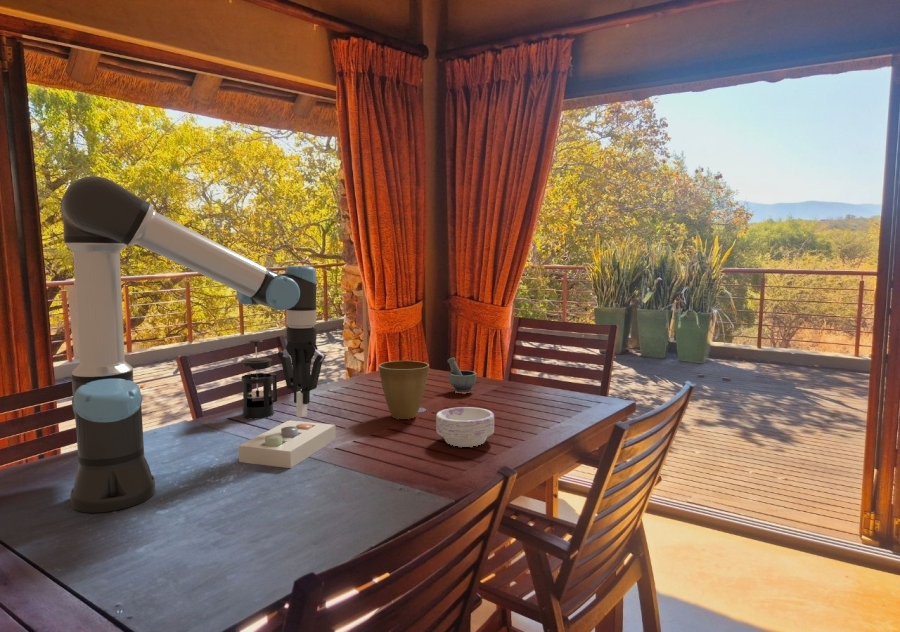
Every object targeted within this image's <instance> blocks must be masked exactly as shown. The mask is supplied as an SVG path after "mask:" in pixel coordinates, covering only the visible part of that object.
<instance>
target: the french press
mask: <svg viewBox="0 0 900 632" xmlns="http://www.w3.org/2000/svg"><path fill="white" fill-rule="evenodd" d="M263 342H264V340H262V339H252V340H251V339H250V340H249V341H248V343H251V344H253V345H254V346H253V347H255V357H251V358H245V359H241V360H240V363H241V365H242V367H243V368H245V367H250V368H251V369H253V370H255V372H254V373H248V374H247V373H246V374H244V375H242V376H241V378H240V379H241V383H242V396H243V397H242V402H243V404H242V413H241V416H242V418H244V419H248V418H252V419H251V420H255V419H254V418H260V419H265V418H264V417H266V418H269V417H268V416H270V417H272V416H273V414H274V415H275V411H274V403H276V402H278V387H277V386H278V385H277V384H278V383H277V382H278V381H277V379H278V378H277V374H276V373H272V372H271V373H266V372H265V373H264V372H259V371H258V370H260V371H261V370H266V369H269V368H271V366H272V365H271V363H272V361H273V359H272V358H269V357H258V348H257V347H259V345H258V343H263ZM252 384H254V385H255V384H256V390H255V391H253V390H252V389H253V388H252V387H253V385H252ZM259 384H262V385H263V386H262V388H263V389H262V390H259ZM271 415H272V416H271Z"/></svg>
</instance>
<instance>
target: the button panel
mask: <svg viewBox="0 0 900 632" xmlns="http://www.w3.org/2000/svg"><path fill="white" fill-rule="evenodd" d="M305 423H307V424H311V425H312V428H310V429H308V430H302V429H298V436H296V437H294V438H286V437H282V445H280V446H278V447H271V446H265V437H266V436H269V435H281V429H282V428H284V427H290V426H293V427H296V426H297V425H299V424H305ZM336 437H337V436H336V424H330V423H321V422H308V421H298V420H290V419H289V420H287V421H285V422H283V423H281V424H278V425H277V426H274V427H273V428H271V429H268V430H267V431H265V432H263V433H260V434H259V435H257V436H254V437H253V438H250V439H249V440H247V441H245V442H243V443H241V444H239V445H238V462H239V463H244V464H253V465H261V466H269V467H277V468H285V469H286V468H287V469H292V468H293V467H296V466H297V465H298V464H300V463H302V462H303V461H304V460H306V459H308V458H309V457H311V456H313V455H314V454H315V453H317V452H318V451H320V450H321V449H323V448H324V447H327V446H328V445H329V444H331V443H333V442H334V441H336V440H335V439H336Z"/></svg>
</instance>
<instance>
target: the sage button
mask: <svg viewBox="0 0 900 632" xmlns="http://www.w3.org/2000/svg"><path fill="white" fill-rule="evenodd" d="M280 445H282V436H281V435H269V436H266V437H265V446H271V447H278V446H280Z"/></svg>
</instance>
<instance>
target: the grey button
mask: <svg viewBox="0 0 900 632" xmlns="http://www.w3.org/2000/svg"><path fill="white" fill-rule="evenodd" d="M281 436H282V437H286V438H294V437H296V436H298V428H297V427H293V426H290V427H284V428H282V429H281Z"/></svg>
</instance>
